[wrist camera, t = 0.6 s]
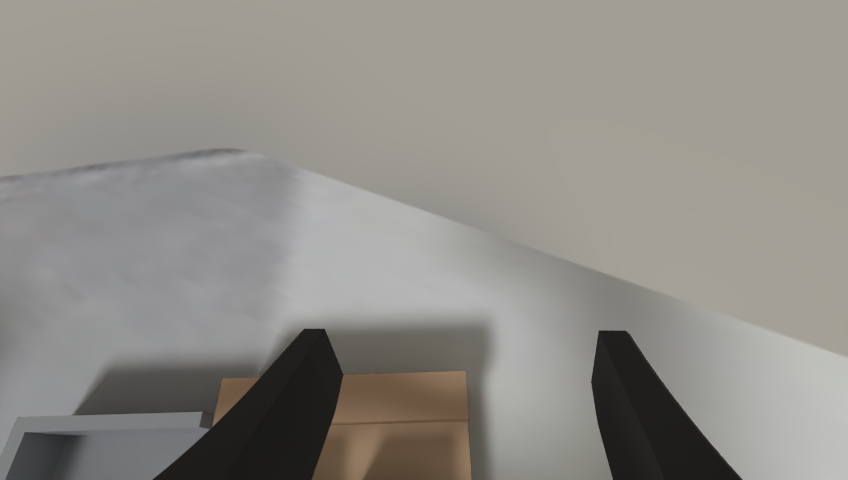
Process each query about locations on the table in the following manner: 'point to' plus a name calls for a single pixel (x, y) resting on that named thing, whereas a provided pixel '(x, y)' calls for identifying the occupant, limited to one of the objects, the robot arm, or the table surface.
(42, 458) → the tray
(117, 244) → the table surface
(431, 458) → the slot block
